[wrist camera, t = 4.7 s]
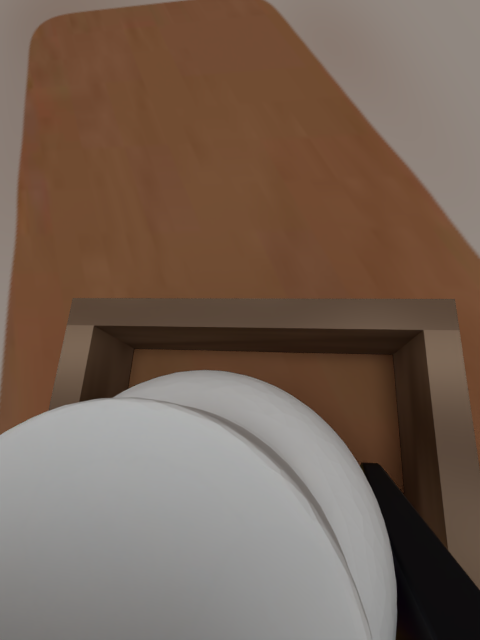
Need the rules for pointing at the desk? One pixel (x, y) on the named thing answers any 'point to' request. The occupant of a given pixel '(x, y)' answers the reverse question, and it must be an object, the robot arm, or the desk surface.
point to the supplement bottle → (190, 520)
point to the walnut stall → (312, 337)
